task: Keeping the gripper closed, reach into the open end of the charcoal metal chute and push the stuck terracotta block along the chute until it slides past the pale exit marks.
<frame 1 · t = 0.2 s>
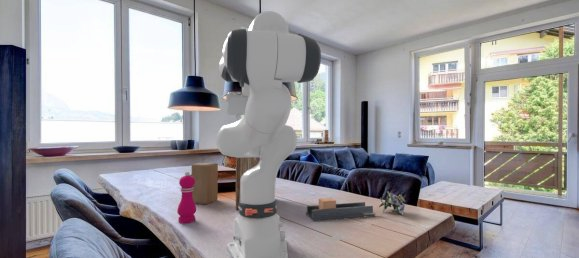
hand: (252, 126, 108), 39 cm above the table, tool pointing down, fingers open, 8 cm apart
chute: (339, 215, 115), on the table
pepper mill: (186, 221, 107), on the table
jammed block: (327, 206, 114), point 4 cm above the table, slide at 0.0 cm
grey-green leafy rounded clump: (392, 213, 118), on the table
wooden block: (204, 202, 137), on the table
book: (254, 204, 134), on the table
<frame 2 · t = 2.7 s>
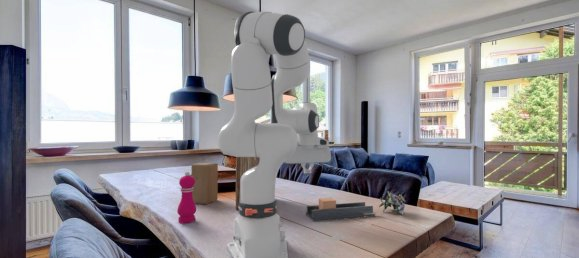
hand: (307, 173, 112), 19 cm above the table, tool pointing down, fingers closed
nothing on the table moved.
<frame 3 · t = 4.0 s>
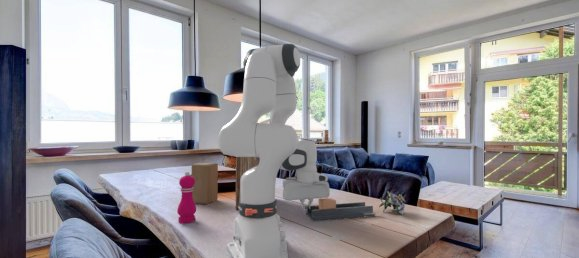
hand: (306, 209, 112), 4 cm above the table, tool pointing down, fingers closed
nothing on the table moved.
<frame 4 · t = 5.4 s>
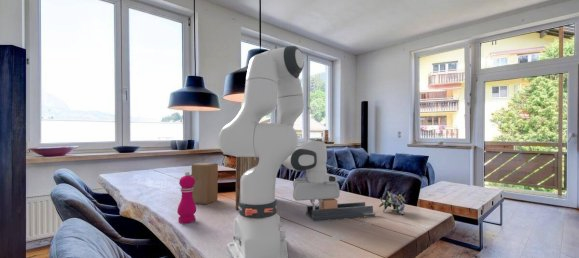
hand: (316, 209, 112), 3 cm above the table, tool pointing down, fingers closed
jammed block: (328, 206, 114), point 4 cm above the table, slide at 0.7 cm, touching gripper
everything else where it was.
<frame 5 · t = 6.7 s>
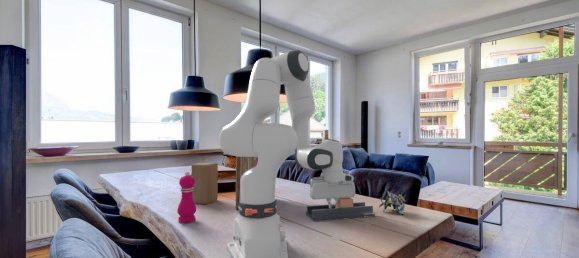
hand: (332, 208, 114), 3 cm above the table, tool pointing down, fingers closed
jammed block: (344, 205, 116), point 4 cm above the table, slide at 8.1 cm, touching gripper
everything else where it was.
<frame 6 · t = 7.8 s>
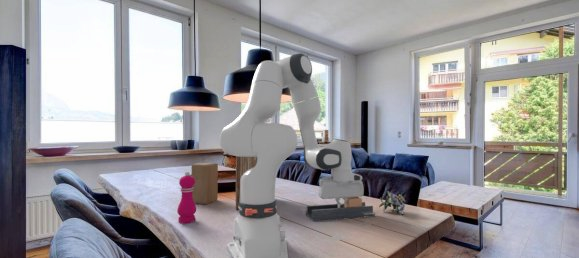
hand: (341, 207, 115), 3 cm above the table, tool pointing down, fingers closed
jammed block: (352, 204, 117), point 4 cm above the table, slide at 12.3 cm, touching gripper
everything else where it was.
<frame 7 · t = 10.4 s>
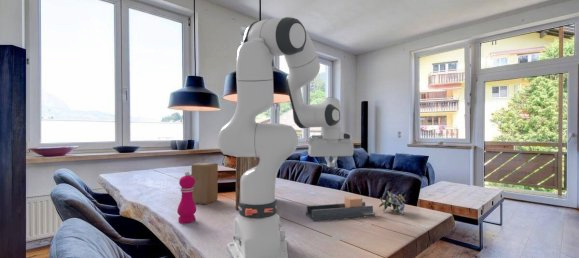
hand: (331, 166, 115), 21 cm above the table, tool pointing down, fingers closed
jammed block: (353, 204, 117), point 4 cm above the table, slide at 12.5 cm
everything else where it was.
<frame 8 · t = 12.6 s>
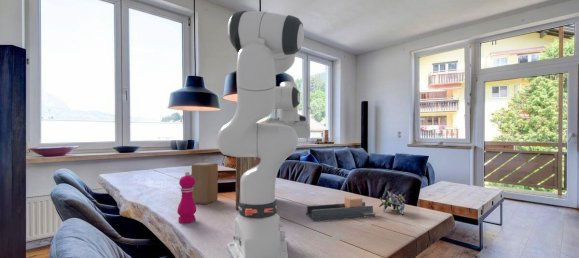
hand: (288, 148, 120), 29 cm above the table, tool pointing down, fingers closed
nothing on the table moved.
at the end: jammed block slide at 12.5 cm; the gripper is holding nothing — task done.
